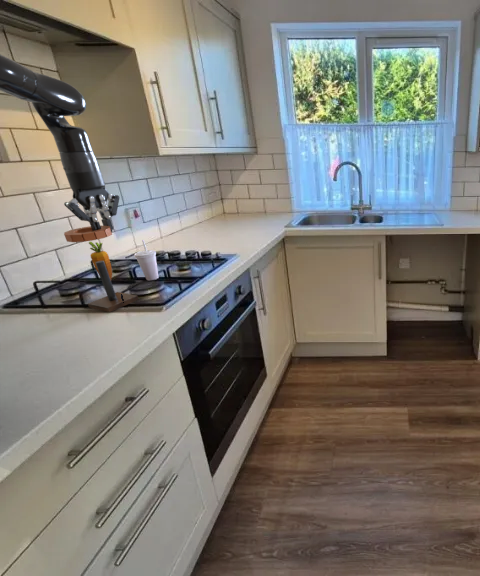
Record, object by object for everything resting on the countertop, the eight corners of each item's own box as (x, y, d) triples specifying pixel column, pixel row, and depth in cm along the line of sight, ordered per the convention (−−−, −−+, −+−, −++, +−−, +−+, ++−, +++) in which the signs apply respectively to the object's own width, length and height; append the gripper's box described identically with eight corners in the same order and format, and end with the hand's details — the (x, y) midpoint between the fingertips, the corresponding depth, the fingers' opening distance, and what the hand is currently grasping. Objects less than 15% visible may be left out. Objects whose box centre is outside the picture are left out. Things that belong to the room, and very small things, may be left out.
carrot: (120, 281, 126) (106, 240, 120) (105, 287, 122) (90, 244, 116) (112, 279, 128) (98, 238, 122) (97, 284, 124) (81, 242, 118)
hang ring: (82, 243, 93) (79, 236, 93) (58, 240, 97) (55, 233, 96) (120, 233, 102) (117, 226, 101) (97, 231, 105) (94, 224, 105)
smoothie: (166, 277, 129) (155, 239, 123) (147, 283, 124) (135, 244, 118) (157, 274, 132) (146, 237, 127) (138, 279, 127) (126, 241, 122)
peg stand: (109, 312, 104) (93, 268, 98) (89, 308, 107) (72, 265, 101) (139, 299, 111) (125, 258, 106) (119, 296, 114) (105, 255, 109)
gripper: (62, 172, 89) (87, 241, 96) (117, 167, 100) (136, 228, 107) (43, 172, 91) (69, 238, 98) (100, 167, 103) (119, 226, 110)
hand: (104, 233), depth 103 cm, fingers closed on hang ring, 2 cm apart
